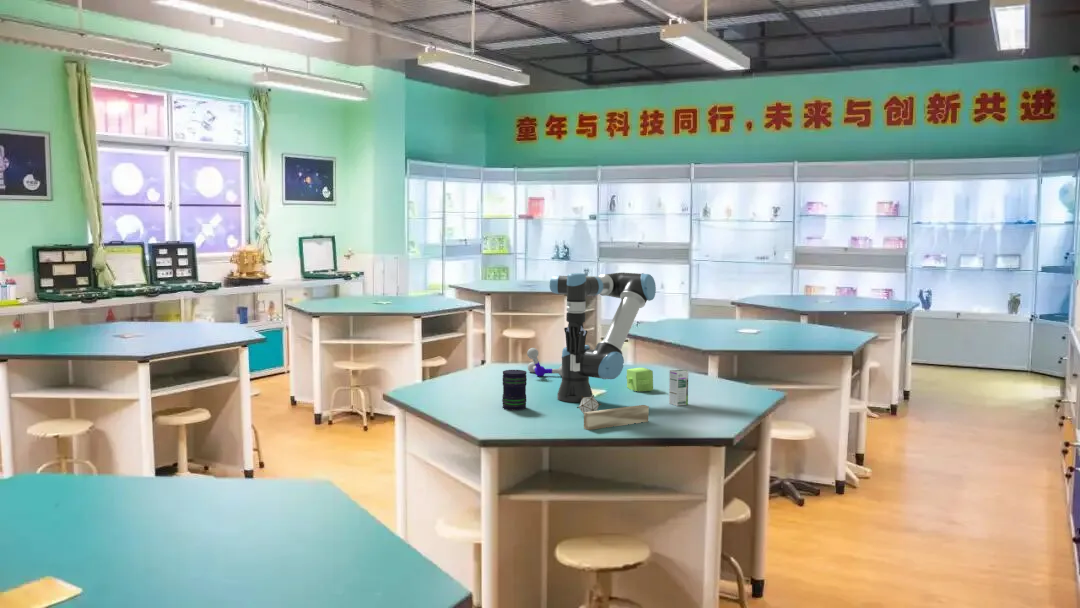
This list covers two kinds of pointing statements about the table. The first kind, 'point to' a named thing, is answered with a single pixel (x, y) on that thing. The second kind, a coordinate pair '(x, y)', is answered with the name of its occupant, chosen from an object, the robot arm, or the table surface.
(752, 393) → the table surface
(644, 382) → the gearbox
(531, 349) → the molecular model
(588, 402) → the game die
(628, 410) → the birch board
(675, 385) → the syrup box
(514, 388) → the storage jar
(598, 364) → the robot arm
